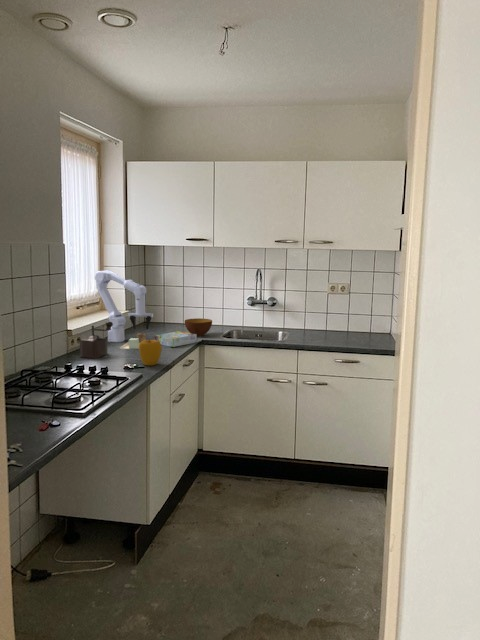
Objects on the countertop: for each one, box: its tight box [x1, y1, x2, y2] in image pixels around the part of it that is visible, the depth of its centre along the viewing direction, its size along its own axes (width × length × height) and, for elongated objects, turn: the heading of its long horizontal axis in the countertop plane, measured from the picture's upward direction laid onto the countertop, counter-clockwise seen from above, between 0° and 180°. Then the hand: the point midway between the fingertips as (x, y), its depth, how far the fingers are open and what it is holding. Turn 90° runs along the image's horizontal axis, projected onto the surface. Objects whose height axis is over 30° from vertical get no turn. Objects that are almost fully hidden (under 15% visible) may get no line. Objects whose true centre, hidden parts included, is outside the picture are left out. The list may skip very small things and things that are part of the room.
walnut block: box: [136, 332, 147, 343], centre depth 319 cm, size 4×4×5 cm
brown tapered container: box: [79, 321, 113, 360], centre depth 286 cm, size 16×11×18 cm
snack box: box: [154, 330, 198, 348], centre depth 320 cm, size 21×6×15 cm
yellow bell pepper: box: [138, 338, 162, 367], centre depth 267 cm, size 11×11×13 cm
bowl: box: [184, 318, 213, 338], centre depth 345 cm, size 18×18×10 cm
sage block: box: [128, 337, 139, 350], centre depth 303 cm, size 4×4×5 cm
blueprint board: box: [119, 341, 140, 350], centre depth 313 cm, size 17×24×1 cm
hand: (141, 328), depth 318 cm, fingers open, 7 cm apart
